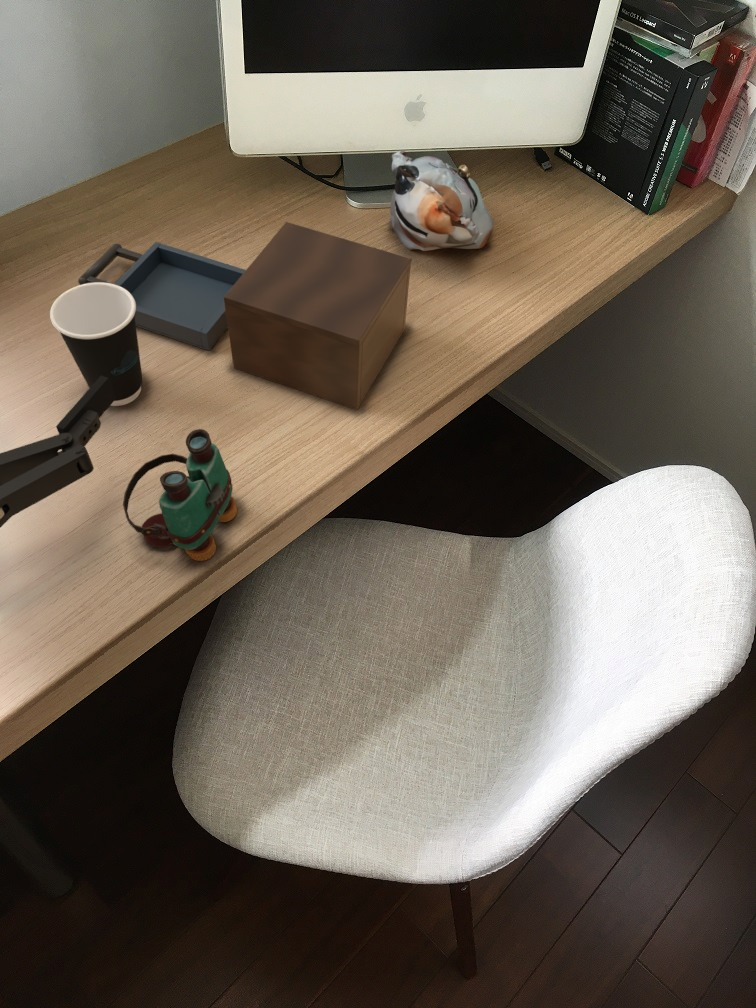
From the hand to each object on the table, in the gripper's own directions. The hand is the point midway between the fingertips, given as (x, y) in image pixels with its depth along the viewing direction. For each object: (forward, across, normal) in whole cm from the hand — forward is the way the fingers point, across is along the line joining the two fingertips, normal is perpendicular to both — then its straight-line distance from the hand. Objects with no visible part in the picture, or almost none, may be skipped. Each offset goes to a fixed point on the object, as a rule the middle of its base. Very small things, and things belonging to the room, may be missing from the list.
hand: (44, 364), depth 71 cm
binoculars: (-4, +15, -10) cm, 19 cm away
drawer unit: (+23, +17, -10) cm, 30 cm away
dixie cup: (+8, 0, -11) cm, 13 cm away
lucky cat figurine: (+48, +22, -11) cm, 54 cm away
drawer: (+23, -3, -10) cm, 25 cm away
